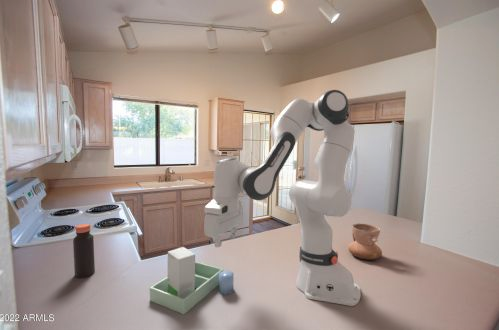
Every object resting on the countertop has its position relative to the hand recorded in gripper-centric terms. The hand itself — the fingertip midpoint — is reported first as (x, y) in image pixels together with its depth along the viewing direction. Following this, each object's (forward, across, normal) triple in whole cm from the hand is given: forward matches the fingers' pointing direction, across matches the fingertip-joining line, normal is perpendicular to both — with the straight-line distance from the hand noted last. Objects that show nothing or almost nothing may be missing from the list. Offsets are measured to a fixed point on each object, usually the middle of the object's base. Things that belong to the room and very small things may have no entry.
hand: (225, 242), depth 87 cm
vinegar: (+19, +17, -56) cm, 62 cm away
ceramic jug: (+17, -55, +43) cm, 72 cm away
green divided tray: (+18, +6, -12) cm, 22 cm away
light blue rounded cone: (+18, 0, 0) cm, 18 cm away
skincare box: (+18, +10, -12) cm, 24 cm away
